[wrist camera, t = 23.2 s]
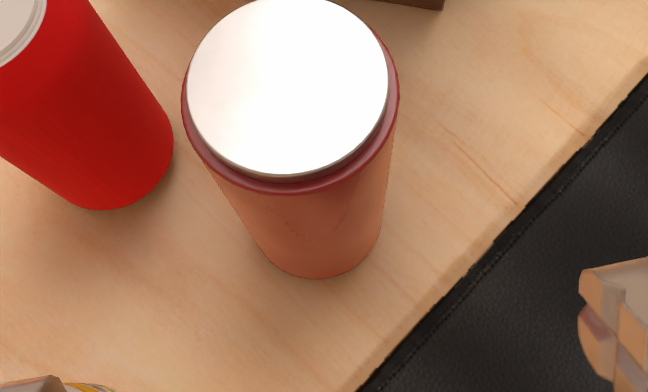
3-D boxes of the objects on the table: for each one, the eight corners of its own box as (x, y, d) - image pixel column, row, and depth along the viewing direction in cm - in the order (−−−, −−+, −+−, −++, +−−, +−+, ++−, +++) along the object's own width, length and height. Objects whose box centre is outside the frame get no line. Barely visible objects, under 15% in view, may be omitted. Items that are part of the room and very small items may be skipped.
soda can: (237, 264, 27) (143, 163, 15) (270, 144, 29) (209, -31, 17) (367, 292, 26) (377, 209, 14) (392, 168, 28) (419, 2, 16)
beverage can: (155, 80, 30) (33, -108, 19) (198, 184, 28) (93, 45, 17) (41, 129, 30) (-155, -34, 18) (77, 238, 28) (-117, 132, 16)
